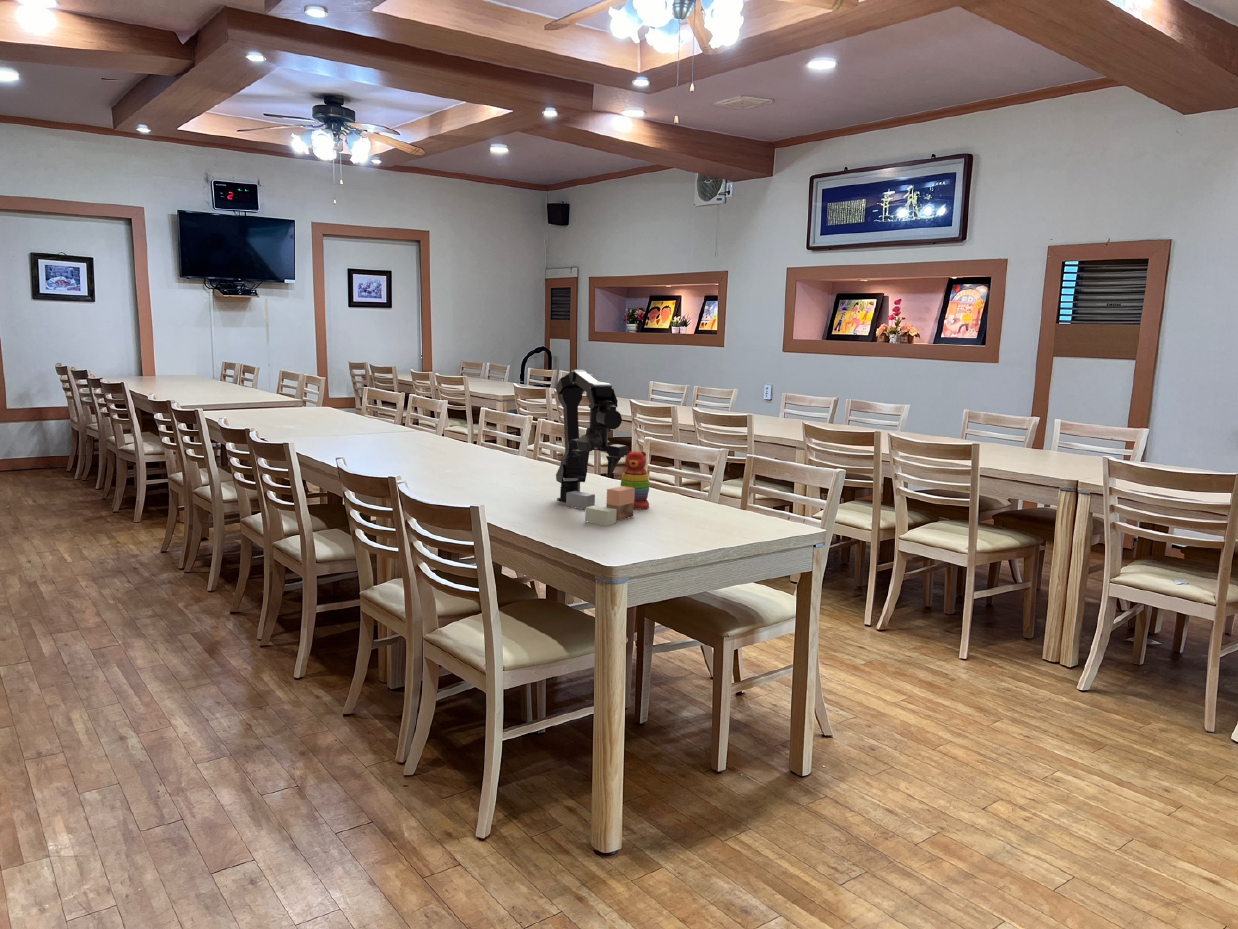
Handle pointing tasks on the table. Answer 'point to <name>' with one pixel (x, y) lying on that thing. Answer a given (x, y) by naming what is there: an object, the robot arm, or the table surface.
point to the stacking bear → (637, 478)
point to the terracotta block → (620, 495)
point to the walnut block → (623, 510)
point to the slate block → (580, 499)
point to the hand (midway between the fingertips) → (596, 475)
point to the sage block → (600, 515)
